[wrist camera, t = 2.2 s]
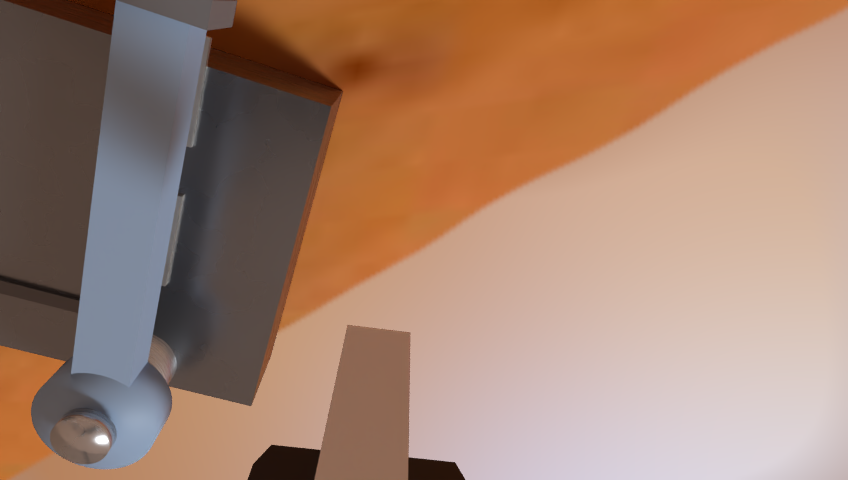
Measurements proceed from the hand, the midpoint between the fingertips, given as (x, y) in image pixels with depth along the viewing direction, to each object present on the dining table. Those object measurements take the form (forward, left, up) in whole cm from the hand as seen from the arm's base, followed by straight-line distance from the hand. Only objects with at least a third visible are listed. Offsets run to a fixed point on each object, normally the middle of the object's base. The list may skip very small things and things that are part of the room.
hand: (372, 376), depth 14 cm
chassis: (-12, -3, -14) cm, 19 cm away
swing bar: (-8, -2, -8) cm, 11 cm away
